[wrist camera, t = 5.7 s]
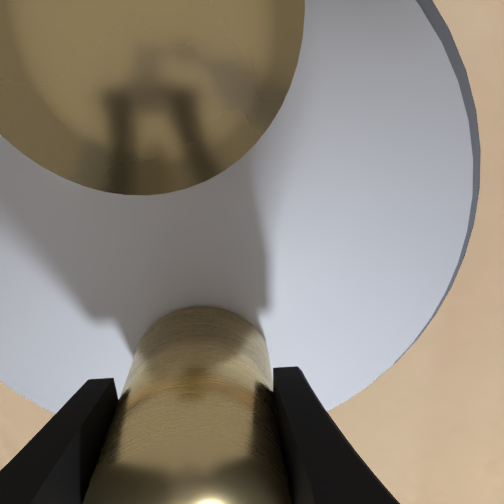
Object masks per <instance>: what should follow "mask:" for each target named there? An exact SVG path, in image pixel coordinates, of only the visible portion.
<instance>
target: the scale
mask: <svg viewBox="0 0 504 504" xmlns="http://www.w3.org/2000/svg"><path fill="white" fill-rule="evenodd" d="M479 188H480V142H479V132H478V123H477V114H476V108H475V104H474V100H473V96H472V92H471V88H470V84H469V81H468V77H467V73H466V69H465V67H464V64H463V62H462V59H461V57H460V55H459V52H458V50H457V47H456V45H455V42H454V40H453V37H452V35H451V33H450V30H449V28H448V27H447V25H446V23H445V21H444V20H443V18H442V16H441V15H440V13H439V11H438V10H437V8H436V6H435V5H434V3H433V1H432V0H305V16H304V28H303V39H302V44H301V49H300V54H299V59H298V64H297V67H296V70H295V73H294V77H293V80H292V83H291V86H290V88H289V91H288V93H287V95H286V97H285V99H284V102H283V104H282V106H281V108H280V110H279V111H278V113H277V115H276V116H275V118H274V120H273V121H272V123H271V125H270V126H269V128H268V129H267V130H266V132H265V133H264V134H263V135H262V137H261V138H260V139H259V140H258V142H257V143H256V144H255V145H254V146H253V147H252V148H251V149H250V150H249V151H248V152H247V153H246V154H245V155H244V156H243V157H242V158H241V159H240V160H238V161H237V162H236V163H234V164H233V165H231V166H230V167H229V168H227V169H226V170H225V171H223V172H222V173H220V174H218V175H216V176H214V177H212V178H211V179H209V180H207V181H205V182H202V183H200V184H197V185H195V186H192V187H189V188H187V189H183V190H179V191H175V192H170V193H166V194H156V195H147V196H146V195H122V194H115V193H108V192H103V191H99V190H96V189H92V188H88V187H85V186H82V185H79V184H77V183H74V182H72V181H69V180H67V179H64V178H62V177H60V176H58V175H56V174H55V173H53V172H51V171H49V170H47V169H45V168H43V167H42V166H40V165H39V164H37V163H36V162H34V161H33V160H31V159H30V158H28V157H27V156H25V155H24V154H22V153H21V152H20V151H19V150H18V149H16V148H15V147H14V146H13V145H12V144H10V143H9V142H8V141H7V140H6V139H5V138H3V137H2V136H1V135H0V381H1V382H3V383H4V384H5V385H7V386H8V387H9V388H11V389H12V390H14V391H15V392H17V393H19V394H20V395H22V396H24V397H25V398H27V399H28V400H30V401H32V402H33V403H35V404H37V405H38V406H40V407H42V408H44V409H47V410H49V411H51V412H53V413H55V414H56V413H57V412H58V411H59V410H60V409H61V408H62V407H63V406H64V405H65V403H66V402H67V401H68V400H69V399H70V398H71V397H72V396H73V395H74V394H75V393H76V392H77V391H78V390H79V389H80V388H81V387H82V385H83V384H84V383H85V382H86V381H87V380H88V379H101V378H114V382H115V386H116V391H117V395H118V400H119V398H120V395H121V393H122V390H123V387H124V384H125V381H126V378H127V376H128V373H129V370H130V367H131V364H132V361H133V359H134V356H135V353H136V350H137V347H138V344H139V342H140V340H141V338H142V336H143V335H144V333H145V332H146V330H147V329H148V328H149V327H150V326H151V325H152V324H153V323H154V322H156V321H157V320H158V319H160V318H161V317H163V316H165V315H166V314H169V313H171V312H173V311H176V310H179V309H183V308H188V307H196V306H209V307H216V308H222V309H225V310H229V311H231V312H234V313H236V314H238V315H240V316H242V317H243V318H245V319H246V320H248V321H249V322H250V323H252V324H253V325H254V326H255V327H256V328H257V330H258V331H259V332H260V333H261V335H262V337H263V338H264V340H265V342H266V345H267V348H268V353H269V359H270V366H271V372H272V379H273V368H278V367H294V366H298V367H299V368H300V369H301V370H302V372H303V374H304V376H305V378H306V379H307V381H308V383H309V385H310V386H311V388H312V390H313V391H314V393H315V394H316V396H317V398H318V399H319V401H320V402H321V404H322V405H323V407H324V408H325V410H326V411H329V410H331V409H332V408H334V407H336V406H338V405H340V404H342V403H343V402H345V401H347V400H348V399H350V398H351V397H353V396H354V395H355V394H357V393H358V392H360V391H361V390H363V389H364V388H366V387H367V386H368V385H370V384H371V383H372V382H374V381H375V380H376V379H377V378H378V377H379V376H380V375H382V374H383V373H384V372H385V371H386V370H387V369H389V368H390V367H391V366H392V365H393V364H394V363H396V362H397V361H398V359H399V358H400V357H401V356H402V355H403V354H404V353H405V352H406V351H407V350H408V349H409V348H410V347H411V346H412V344H413V343H414V342H415V341H416V340H417V339H418V338H419V336H420V335H421V333H422V332H423V331H424V329H425V328H426V327H427V325H428V324H429V323H430V321H431V320H432V319H433V317H434V316H435V315H436V313H437V311H438V309H439V308H440V306H441V304H442V302H443V301H444V299H445V297H446V295H447V294H448V292H449V290H450V289H451V287H452V284H453V282H454V280H455V277H456V275H457V273H458V270H459V268H460V266H461V263H462V261H463V259H464V256H465V253H466V249H467V246H468V242H469V239H470V235H471V232H472V229H473V225H474V220H475V214H476V207H477V201H478V194H479Z"/></svg>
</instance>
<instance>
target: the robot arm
mask: <svg viewBox="0 0 504 504" xmlns="http://www.w3.org/2000/svg"><path fill="white" fill-rule="evenodd" d="M273 394H274V401H275V408H276V414H277V421H278V427H279V432H280V437H281V442H282V447H283V452H284V458H285V464H286V470H287V476H288V483H289V489H290V496H291V502H292V504H400V503H399V502H398V501H397V500H396V499H395V498H394V497H393V495H392V494H391V493H390V492H389V491H388V490H387V489H386V487H385V486H384V485H383V484H382V483H381V482H380V480H379V479H378V478H377V477H376V476H375V475H374V473H373V472H372V471H371V470H370V468H369V467H368V466H367V465H366V463H365V462H364V461H363V460H362V459H361V457H360V456H359V455H358V454H357V452H356V451H355V450H354V448H353V447H352V446H351V444H350V443H349V442H348V441H347V439H346V438H345V436H344V435H343V434H342V432H341V431H340V430H339V428H338V427H337V425H336V424H335V423H334V421H333V420H332V419H331V417H330V416H329V414H328V413H327V411H326V410H325V408H324V407H323V405H322V404H321V402H320V401H319V399H318V398H317V396H316V394H315V393H314V391H313V390H312V388H311V386H310V385H309V383H308V381H307V379H306V378H305V376H304V374H303V372H302V370H301V369H300V368H299V367H298V366H294V367H278V368H273ZM118 401H119V400H118V395H117V391H116V386H115V382H114V378H101V379H88V380H87V381H86V382H85V383H84V384H83V385H82V387H81V388H80V389H79V390H78V391H77V392H76V393H75V394H74V395H73V396H72V397H71V398H70V399H69V400H68V401H67V402H66V403H65V405H64V406H63V407H62V408H61V409H60V410H59V411H58V412H57V413H56V414H55V415H54V416H53V417H52V418H51V419H50V421H49V422H48V423H47V424H46V425H45V426H44V427H43V428H42V429H41V430H40V431H39V432H38V433H37V434H36V435H35V436H34V437H33V438H32V439H31V440H30V441H29V442H28V443H27V445H26V446H25V447H24V448H23V449H22V450H21V451H20V452H19V453H18V454H17V455H16V456H15V457H14V458H13V459H12V460H11V461H10V462H9V463H8V464H7V465H6V466H5V467H4V468H3V469H2V470H1V471H0V504H83V501H84V498H85V495H86V492H87V489H88V486H89V483H90V481H91V478H92V475H93V472H94V469H95V466H96V464H97V461H98V458H99V455H100V452H101V449H102V447H103V444H104V441H105V438H106V435H107V432H108V429H109V427H110V424H111V421H112V418H113V415H114V412H115V410H116V407H117V404H118Z"/></svg>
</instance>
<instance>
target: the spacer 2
mask: <svg viewBox="0 0 504 504" xmlns="http://www.w3.org/2000/svg"><path fill="white" fill-rule="evenodd" d="M83 504H292V502H291V496H290V489H289V483H288V476H287V470H286V464H285V458H284V452H283V447H282V442H281V437H280V432H279V427H278V421H277V414H276V408H275V401H274V394H273V379H272V372H271V366H270V359H269V353H268V348H267V345H266V342H265V340H264V338H263V337H262V335H261V333H260V332H259V331H258V330H257V328H256V327H255V326H254V325H253V324H252V323H250V322H249V321H248V320H246V319H245V318H243V317H242V316H240V315H238V314H236V313H234V312H231V311H229V310H225V309H222V308H216V307H209V306H196V307H188V308H183V309H179V310H176V311H173V312H171V313H169V314H166V315H165V316H163V317H161V318H160V319H158V320H157V321H156V322H154V323H153V324H152V325H151V326H150V327H149V328H148V329H147V330H146V332H145V333H144V335H143V336H142V338H141V340H140V342H139V344H138V347H137V350H136V353H135V356H134V359H133V361H132V364H131V367H130V370H129V373H128V376H127V378H126V381H125V384H124V387H123V390H122V393H121V395H120V398H119V401H118V404H117V407H116V410H115V412H114V415H113V418H112V421H111V424H110V427H109V429H108V432H107V435H106V438H105V441H104V444H103V447H102V449H101V452H100V455H99V458H98V461H97V464H96V466H95V469H94V472H93V475H92V478H91V481H90V483H89V486H88V489H87V492H86V495H85V498H84V501H83Z"/></svg>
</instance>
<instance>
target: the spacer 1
mask: <svg viewBox="0 0 504 504" xmlns="http://www.w3.org/2000/svg"><path fill="white" fill-rule="evenodd" d="M304 16H305V0H0V135H1V136H2V137H3V138H5V139H6V140H7V141H8V142H9V143H10V144H12V145H13V146H14V147H15V148H16V149H18V150H19V151H20V152H21V153H22V154H24V155H25V156H27V157H28V158H30V159H31V160H33V161H34V162H36V163H37V164H39V165H40V166H42V167H43V168H45V169H47V170H49V171H51V172H53V173H55V174H56V175H58V176H60V177H62V178H64V179H67V180H69V181H72V182H74V183H77V184H79V185H82V186H85V187H88V188H92V189H96V190H99V191H103V192H108V193H115V194H122V195H146V196H147V195H156V194H166V193H170V192H175V191H179V190H183V189H187V188H189V187H192V186H195V185H197V184H200V183H202V182H205V181H207V180H209V179H211V178H212V177H214V176H216V175H218V174H220V173H222V172H223V171H225V170H226V169H227V168H229V167H230V166H231V165H233V164H234V163H236V162H237V161H238V160H240V159H241V158H242V157H243V156H244V155H245V154H246V153H247V152H248V151H249V150H250V149H251V148H252V147H253V146H254V145H255V144H256V143H257V142H258V140H259V139H260V138H261V137H262V135H263V134H264V133H265V132H266V130H267V129H268V128H269V126H270V125H271V123H272V121H273V120H274V118H275V116H276V115H277V113H278V111H279V110H280V108H281V106H282V104H283V102H284V99H285V97H286V95H287V93H288V91H289V88H290V86H291V83H292V80H293V77H294V73H295V70H296V67H297V64H298V59H299V54H300V49H301V44H302V39H303V28H304Z"/></svg>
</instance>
